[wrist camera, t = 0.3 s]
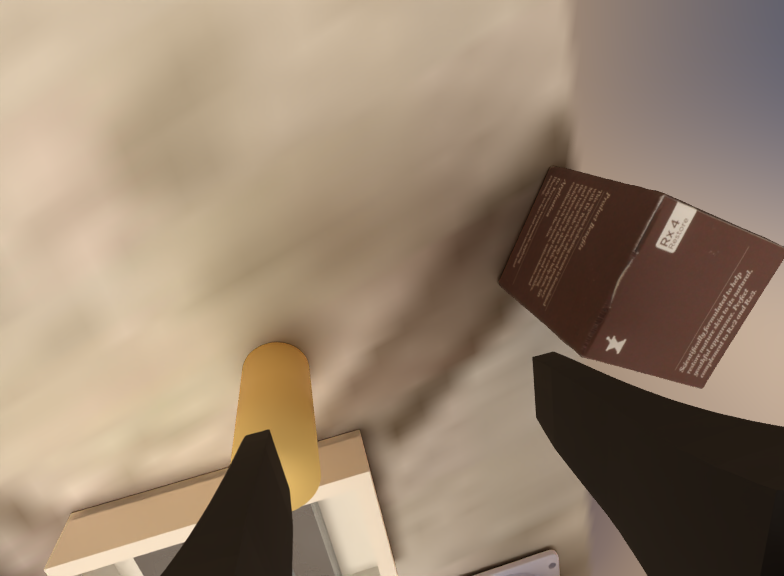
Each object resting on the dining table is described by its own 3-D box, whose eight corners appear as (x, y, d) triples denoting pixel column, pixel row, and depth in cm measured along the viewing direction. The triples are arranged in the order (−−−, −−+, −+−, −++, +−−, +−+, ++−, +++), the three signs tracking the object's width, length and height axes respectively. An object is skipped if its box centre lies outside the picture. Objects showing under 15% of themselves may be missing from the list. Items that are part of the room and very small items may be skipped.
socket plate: (342, 574, 28) (346, 609, 26) (198, 621, 27) (192, 660, 25) (306, 468, 24) (308, 498, 23) (141, 517, 24) (130, 553, 22)
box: (591, 314, 25) (702, 395, 19) (492, 283, 24) (577, 360, 17) (650, 203, 24) (796, 248, 17) (549, 160, 22) (669, 192, 15)
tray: (394, 562, 29) (406, 611, 26) (151, 642, 27) (137, 703, 25) (359, 429, 25) (369, 471, 22) (70, 513, 23) (43, 569, 20)
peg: (315, 388, 24) (330, 499, 17) (253, 406, 23) (244, 526, 17) (300, 334, 22) (308, 432, 16) (233, 352, 22) (215, 459, 16)
